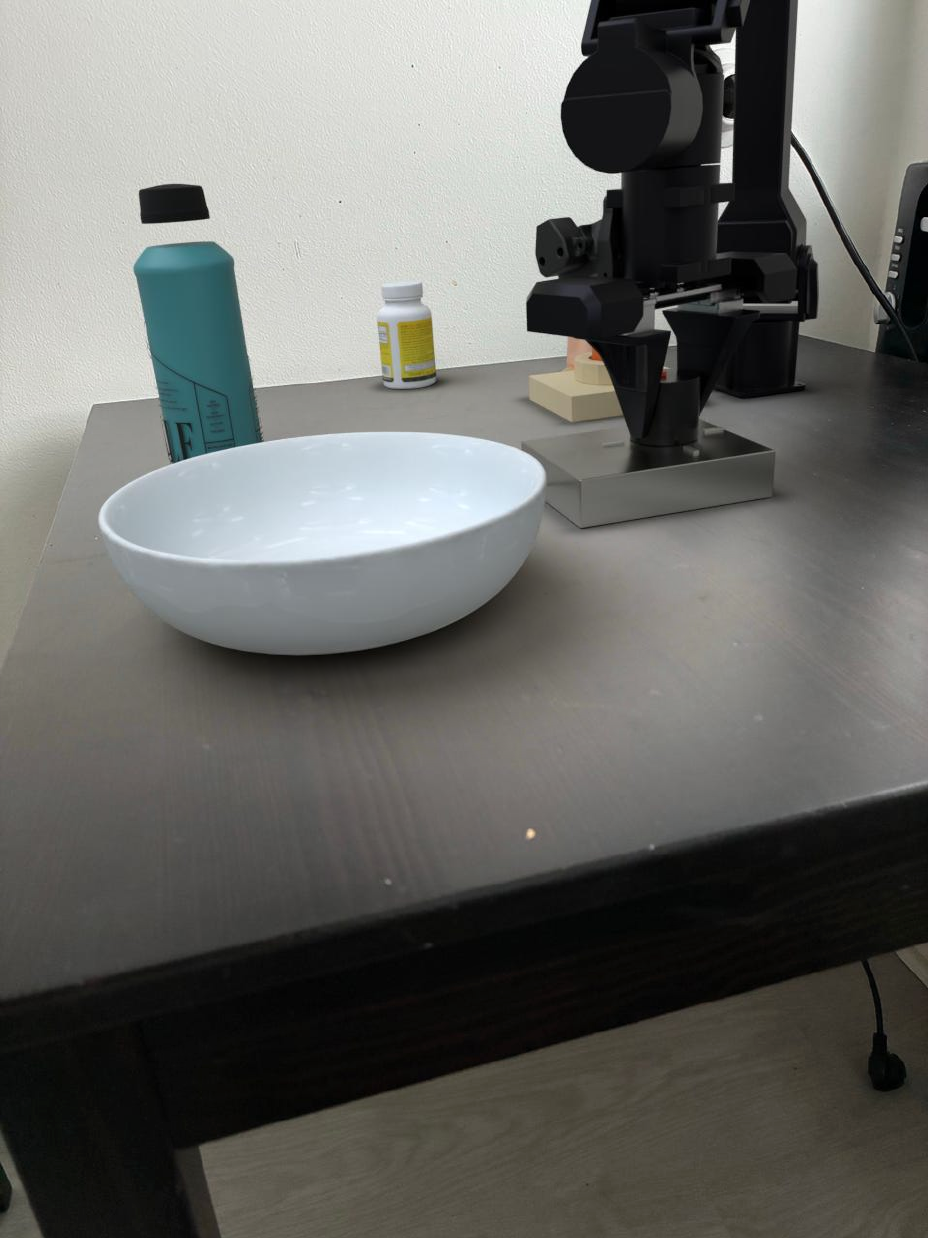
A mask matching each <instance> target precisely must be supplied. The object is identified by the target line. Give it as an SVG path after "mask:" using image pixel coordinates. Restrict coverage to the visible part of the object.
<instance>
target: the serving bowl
mask: <svg viewBox="0 0 928 1238" xmlns="http://www.w3.org/2000/svg"><path fill="white" fill-rule="evenodd" d="M546 488H547V475H546V471H545V469H544V467H543V466H542V465H541V463H540V462H539V461H538V460H537V459H535V458H534V457H533V456H531V455H530V454H528V453H526V452H524V451H521V449H519V448H517V447H515V446H512V445H508V444H505V443H501V442H497V441H494V440H488V439H485V438H479V437H474V436H468V435H467V436H466V435H460V434H459V435H458V434H448V433H439V432H422V431H417V432H416V431H364V432H363V431H361V432H359V431H358V432H357V431H356V432H344V433H343V432H339V433H326V434H315V435H303V436H297V437H289V438H282V439H280V438H279V439H275V440H269V441H263V442H262V443H256V444H251V445H245V446H240V447H235V448H230V449H226V450H221V451H217V452H213V453H209V454H205V455H201V456H197V457H193V458H190V459H186V460H183V461H180V462H177V463H174V464H172V463H171V464H168V465H165V466H163V467H161V468H157V469H155V470H153V471H150V472H148V473H146V474H144V475H142V476H140V477H138V478H136V479H134V480H132V481H130V482H129V483H126V484H125V485H124V486H122V487H120V488H119V489H118V490H116V491H115V492H114V493H112V494H111V495H109V497H108V498H107V499H106V501H104V503H103V505H102V506H101V508H100V510H99V513H98V518H97V523H98V528H99V531H100V534H101V536H102V539H103V542H104V544H105V547H106V549H107V552H108V555H109V557H110V559H111V561H112V564H113V566H114V568H115V570H116V571H117V573H118V575H119V577H120V578H121V580H122V582H123V583H124V584H125V585H126V587H127V588H128V590H129V591H130V592H131V593H132V595H133V596H134V597H135V598H136V599H137V600H138V601H139V602H140V603H141V604H142V605H143V606H144V607H145V608H146V609H147V610H148V611H150V612H151V613H152V614H153V615H155V616H156V617H157V618H159V619H160V620H161V621H163V622H165V623H166V624H167V625H169V626H170V627H172V628H174V629H176V630H178V631H179V632H182V633H184V634H186V635H187V636H189V637H193V638H195V639H198V640H200V641H202V642H206V643H209V644H212V645H214V646H215V645H216V646H219V647H223V648H227V649H232V650H237V651H243V652H248V653H257V654H266V655H278V656H280V655H283V656H312V655H315V656H316V655H332V654H340V653H350V652H359V651H364V650H365V651H366V650H369V649H370V650H371V649H375V648H382V647H385V646H389V645H390V646H391V645H393V644H397V643H401V642H405V641H408V640H413V639H414V638H417V637H421V636H424V635H427V634H430V633H433V632H435V631H437V630H440V629H442V628H444V627H446V626H449V625H451V624H454V623H455V622H457V621H459V620H462V619H463V618H465V617H466V616H468V615H470V614H472V613H474V612H475V611H477V610H478V609H480V608H481V607H482V606H483V605H485V604H486V603H488V602H489V601H490V600H491V599H494V597H495V596H497V595H498V594H499V593H500V592H501V591H502V590H503V589H504V588H505V587H506V586H507V585H508V584H509V582H511V581H512V579H513V578H514V577H515V576H516V575H517V573H518V572H519V570H520V569H521V567H522V566H523V564H524V563H525V562H526V560H527V558H528V556H529V555H530V553H531V551H532V549H533V547H534V544H535V542H536V540H537V537H538V534H539V531H540V527H541V523H542V520H543V514H544V510H545V503H546V501H545V496H546Z"/></svg>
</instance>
